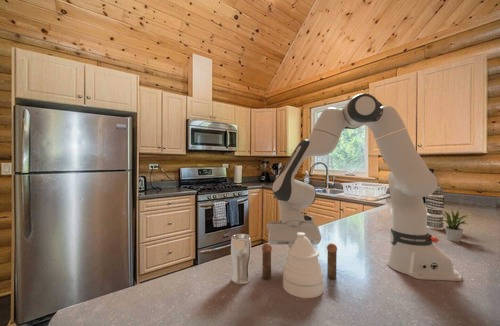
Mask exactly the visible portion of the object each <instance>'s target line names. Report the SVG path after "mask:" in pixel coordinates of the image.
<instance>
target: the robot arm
mask: <svg viewBox="0 0 500 326" xmlns="http://www.w3.org/2000/svg"><path fill="white" fill-rule="evenodd" d="M363 126H366V127H368V128H369V130H370V131H371V132H372V134H373V137H374V139H375V142H376V144H377V147H378V150H379V152H380V155H381V158H382V159H383V160H384V161H385V163H386V165H387V166H388V168H389V170H390V172H389V174H388V175H387V181H388V185H389V186H388V187H389V195H390V201H391V202H390V203H391V210H392V211H391V212H392V213H391V215H392V217H391V218H392V220H391V221H392V223H391V225H392V227H391V228H390V238H389V239H390V243H391V244H390V251H389V256H388V259H387V261H386V264H387V266H389V268H391V269H392V270H394V271H397V272H399V273H402V274H406V275H408V276H409V277H412V278H413V279H416V280H430V281H431V280H434V281H451V282H452V281H455V282H456V281H457V282H462V280H463V278H462V275H461V272H459V271H458V270H457V269H455V268H454V264H453V261H452V259H451V257H450V256H449V255H448V254H446V252H444V251H443V250H441V249H440V248H439V247H438V246H436V245H435V244H438V243H439V241H440V240H439V238H438V237H436V236H435V235H432V234H430V233H429V232H428V227H427V208H426V207H425V204H424V200H423V198H426V196H429V195H431V194H432V193H433V192H434V191H435V190H436V188H437V187H438V179H437V177H436V176H435V174H434V173H433V172H432V171H431V170H430V169H429V167H428V166H427V165H426V163H425V161H424V159H423V157H421V155H420V154H419V152H418V151H417V149H416V147H415V146H414V144H413V141H412V139H411V137H410V136H411V135H409V132H408V130H407V127H406V125H405V123H404V121H403V119H402V117H401V116H400V114H399V113H398V111H397V110H396V108H395V107H393V106H390V105H383V104H382V103H381V102H380V101H379V100H378V99H377V98H376V97H375V96H374V95H372V94H370V93H359V94H357V95H356V94H355V96H353V97H352V98H350V100H349V101H347V103H345V104H344V106H343V107H342V108H340V109H339V108H336V107H327V108H325V109H323V110H322V112H321V113H320V115H319V117H318V118H317V120H316V122H315V124H314V126H313V128H312V131H311V133H310V135H309V136H308V137H307V138H305V139H302V140H301V141H300V142H298V145H297V146H296V147H295V148H294V150H293V152H292V153H291V155H290V156H289V159H288V160H287V162H286V163H285V165H284V167H283V168H282V170H281V172H279V174H278V176H277V177H276V178H275V180H274V181H273V183H272V187H271V191H272V194H273V196H274V198H275V199H276V201H277V200H278V208H279V210H280V214H279V215H280V216H279V217H280V221H278V220H277V221H273V220H272V221H269V222H268V223H267V224H266V230H267V232H268V238H267V239H268V241H267V242H268V244H270V245H271V246H273V245H285V246H286V245H288V249H289V248H290V247H292V246H293V244H294V242H295V241H296V239H297V238H298V237H297V233H298V232H302V233H305V236H306V237H307V238H308V239H309V240H310V242H311V243H312V245H319V244H320V243H321V241H322V235H321V232H320V229H319V226H318V225H317V224H316V223H315V217H314V216H312V215H308V214H305V213H302V210H303V211H304V210H305V209H308V208H309V207H310V206H312V205H314V203H315V202H316V199H317V191H316V188H315V187H314V186H313V185H311V184H309V183H306V182H304V181H301V180H298V179H297V178H296V179H295V176H296V174H297V173H298V171H299V169H300V167H301V165H302V164H303V162H304V161H305V160H306V159H308V158H310V157H325V156H328V155H330V154H331V153H333V152H334V151H335V149H336V147H337V146H338V144H339V141H340V139H341V135H342V132H343V131H344V129H345V130H346V129H347V130H355V129H360V128H361V127H363Z"/></svg>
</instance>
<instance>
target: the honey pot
mask: <svg viewBox="0 0 500 326" xmlns="http://www.w3.org/2000/svg"><path fill="white" fill-rule="evenodd" d="M297 237H298V238H297V239H296V241H295V242H294V244H293V245H292V247H290V248H289V247H288V249H287V254H288V256H287V257H286V261H285V263H284V266H283V269H282V287H283V290H285V291H286V292H287V293H288V294H289V295H291V296H293V297H294V296H295V297H297V298H301V299H302V298H303V299H311V298H312V299H313V298H317V297H318V296H321V295H322V293H323V291H324V271H323V269H322V265H321V262H320V260H319V256H320V252H319V250H317V249H316V248H314V244H312V243H311V242H310V240H309V239H308V238H307V237H306V236H305V233H302V232H298V233H297Z"/></svg>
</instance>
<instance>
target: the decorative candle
mask: <svg viewBox="0 0 500 326" xmlns="http://www.w3.org/2000/svg"><path fill="white" fill-rule="evenodd" d="M425 201H426V202H425V204H426V207H425V209H426V211H427V229H430V230H431V229H432V230H438V231H440V230H441V231H442V230H444V228H445V226H444V221H443V220H445V219H444V217H445V216H444V215H443V214H444V213H443V212H444V210H445V209H444V208H445V207H444V206H445V204H444V203H445V198H444V189H443V188H442V187H440V186H437V188H436V190H435V191H434V192H433V193H432V194H431V195H429V196H426V197H425ZM442 213H443V214H442ZM440 219H443V220H440Z"/></svg>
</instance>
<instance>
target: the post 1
mask: <svg viewBox="0 0 500 326" xmlns="http://www.w3.org/2000/svg"><path fill="white" fill-rule="evenodd" d="M261 250H262V279H263V280H265V281H269V280H271V279H272V245H271V244H270V243H264V244H262V247H261Z"/></svg>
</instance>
